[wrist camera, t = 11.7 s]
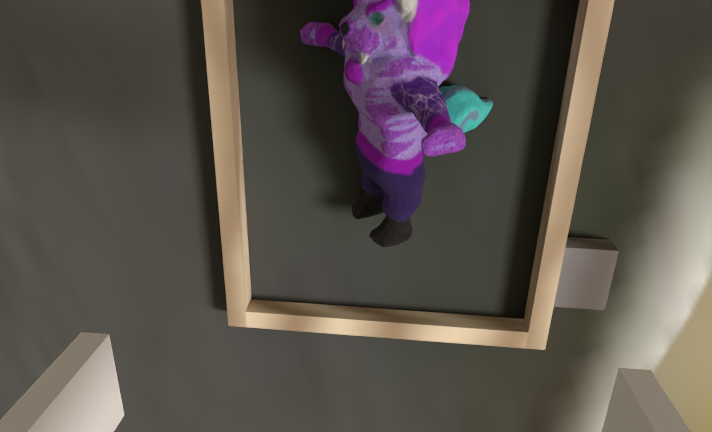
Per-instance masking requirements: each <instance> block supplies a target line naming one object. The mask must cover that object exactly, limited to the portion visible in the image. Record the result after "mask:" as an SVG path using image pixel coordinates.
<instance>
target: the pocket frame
mask: <svg viewBox="0 0 712 432" xmlns="http://www.w3.org/2000/svg"><path fill="white" fill-rule="evenodd" d="M201 5H202V17H203V29H204V41H205V53H206V65H207V76H208V88H209V100H210V112H211V124H212V136H213V148H214V159H215V171H216V183H217V195H218V207H219V219H220V231H221V242H222V254H223V266H224V278H225V290H226V302H227V314H228V325H229V326H238V327H251V328H264V329H277V330H290V331H304V332H317V333H330V334H343V335H356V336H370V337H383V338H396V339H409V340H422V341H435V342H449V343H462V344H475V345H488V346H501V347H515V348H528V349H541V350H545V347H546V342H547V337H548V332H549V327H550V322H551V317H552V312H553V307H566V308H581V309H595V310H605V306H606V302H607V298H608V294H609V290H610V286H611V282H612V278H613V273H614V269H615V265H616V261H617V257H618V253H619V250H618V249H617V248H616V246H615V245H614V244H613V243H612V241H611V240H609V239H592V238H576V237H568V232H569V227H570V221H571V216H572V211H573V206H574V201H575V196H576V191H577V186H578V181H579V176H580V171H581V166H582V161H583V156H584V151H585V146H586V141H587V136H588V131H589V126H590V121H591V116H592V111H593V106H594V101H595V96H596V91H597V86H598V81H599V76H600V71H601V66H602V61H603V56H604V51H605V46H606V41H607V36H608V31H609V26H610V20H611V15H612V10H613V5H614V0H580V1H579V6H578V12H577V18H576V23H575V29H574V35H573V41H572V46H571V52H570V58H569V63H568V69H567V75H566V81H565V86H564V92H563V98H562V103H561V109H560V115H559V121H558V126H557V132H556V138H555V143H554V149H553V155H552V161H551V166H550V172H549V178H548V183H547V189H546V195H545V201H544V206H543V212H542V218H541V223H540V229H539V235H538V241H537V246H536V252H535V258H534V263H533V269H532V275H531V281H530V286H529V292H528V298H527V303H526V309H525V315H524V319H519V318H505V317H491V316H477V315H463V314H449V313H435V312H421V311H407V310H393V309H380V308H366V307H352V306H338V305H324V304H310V303H296V302H282V301H268V300H254V299H252V298H251V282H250V266H249V250H248V234H247V218H246V202H245V186H244V170H243V154H242V138H241V122H240V106H239V90H238V74H237V58H236V42H235V26H234V10H233V0H201Z"/></svg>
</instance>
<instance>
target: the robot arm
mask: <svg viewBox="0 0 712 432" xmlns="http://www.w3.org/2000/svg"><path fill="white" fill-rule="evenodd" d="M123 416H124V411H123V406H122V400H121V395H120V390H119V384H118V379H117V374H116V368H115V363H114V358H113V352H112V347H111V342H110V336H109V334H98V333H83V332H81V333H80V334H79V335H78V336H77V337H76V338H75V340H74V341H73V342H72V343H71V344H70V345H69V346H68V347H67V348H66V349H65V350H64V351H63V353H62V354H61V355H60V356H59V357H58V358H57V359H56V360H55V361H54V362H53V363H52V364H51V365H50V367H49V368H48V369H47V370H46V371H45V372H44V373H43V374H42V375H41V376H40V377H39V378H38V380H37V381H36V382H35V383H34V384H33V385H32V386H31V387H30V388H29V389H28V390H27V391H26V393H25V394H24V395H23V396H22V397H21V398H20V399H19V400H18V401H17V402H16V403H15V404H14V406H13V407H12V408H11V409H10V410H9V411H8V412H7V413H6V414H5V415H4V416H3V417H2V419H1V420H0V432H114V430H115V429H116V427H117V426H118V424H119V422H120V421H121V419H122V418H123ZM602 432H691V431H690V430H689V428H688V427H687V425H686V424H685V422H684V421H683V419H682V418H681V416H680V414H679V413H678V411H677V410H676V408H675V407H674V405H673V404H672V403H671V401H670V399H669V398H668V396H667V395H666V393H665V392H664V390H663V389H662V387H661V386H660V384H659V382H658V381H657V380H656V378H655V376H654V375H653V373H652V372H651V370H641V369H626V368H619V369H618V373H617V377H616V381H615V384H614V388H613V392H612V396H611V400H610V403H609V407H608V411H607V415H606V418H605V422H604V426H603V430H602Z"/></svg>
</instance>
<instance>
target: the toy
mask: <svg viewBox="0 0 712 432" xmlns="http://www.w3.org/2000/svg"><path fill="white" fill-rule="evenodd" d="M353 5H354V9H353V10H352V11H351V12H350V13H349V14H348V15H346V16H345V17H344V18H343V19H341V22H340V24H339V29H340V31H338V30H336V29H335V28H334V26H333V25H331V24H329V23H321V22H312V21H311V22H309V23H307V24H306V25H305V26H304V27H303V28H302V29H301V30H300V36H301V40H302V42H303V43H304V44H306V45H312V46H320V47H328V48H330V49H331V50H333V51H335V52H337V53H339V54H341V55H342V56H344V57H345V65H344V86H345V89H346V91H347V92H348V94H349V96H350V97H351V99H352V101H353V103H354V105H355V106H356V108H357V110H358V112H359V117H358V126H359V131H358V134H357V137H356V141H355V152H356V157H357V159H358V161H359V163H360V165H361V167H362V169H363V172H362V176H361V185H362V187H363V189H364V190H365V191H364V193H363V195H362V196H361V198H360V199H359V200H358V201H357V202H356V203H355V204H353V205H352V213H353V216H354V217H355V218H356V219H360V218H365V217H370V216H374V215H377V214H380V213H383V212H384V213H385V214H386V217H385V219H384V220H383V221H382V223H381V224H380V225H379V226H378V227H377V228H375V229H374V230H372V231H371V233H370V235H369V236H370V237H371V238H372V240H373V241H374V242H375V243H377V244H379V245H380V246H382V247H390V246H394V245H398V244H400V243H402V242H404V241H406V240H408V239H409V238H410V237H411V233H412V227H411V224H410V216H411V215H412V214H413V213H414V212H415V210H416V209H417V208H418V206H419V204H420V202H421V195H422V188H423V183H424V179H425V171H424V165H423V154H424V155H425V156H436V155H441V154H447V153H453V152H457V151H460V150H462V149H463V148H464V147H465V144H466V141H465V135H464V133H465V132H467V131H469V130H472V129H474V128H476V127H477V126H478V125H479V124H480V123H481V122H482V121H483V120H484V119H485V117H486V116H487V115H488V114H489V112H490V110H491V108H492V106H493V103H492V101H491V99H480V98H479V97H478V95H477V94H475V93H474V92H473V91H471V90H470V89H468V88H467V87H464V86H461V85H451V86H443V87H440V88H439V87H438V86H439V85H440V84H441V83H442V82H443V81H444V80H446V79H447V78H448V76H449V74H450V72H451V71H452V69H453V67H454V62H455V60H456V55H457V49H458V44H459V42H460V40H461V38H462V34H463V29H464V25H465V22H466V19H467V16H468V14H469V9H470V1H469V0H353Z"/></svg>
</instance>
